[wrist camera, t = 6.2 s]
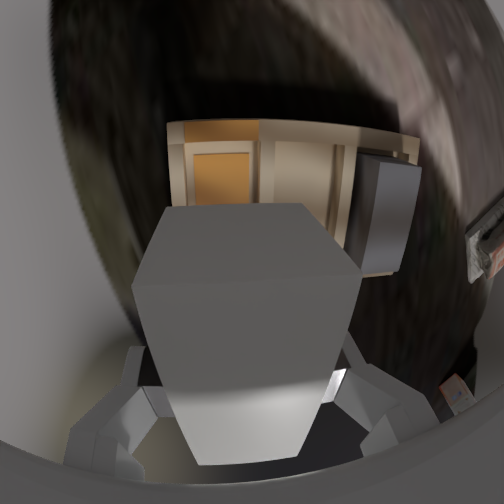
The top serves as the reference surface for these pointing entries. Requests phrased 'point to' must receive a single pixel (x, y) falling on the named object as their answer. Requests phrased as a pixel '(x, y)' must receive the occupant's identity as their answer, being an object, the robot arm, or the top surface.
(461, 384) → the cracker box
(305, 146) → the rack
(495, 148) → the top surface
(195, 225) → the white rectangular block
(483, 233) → the packaged product
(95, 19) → the top surface
